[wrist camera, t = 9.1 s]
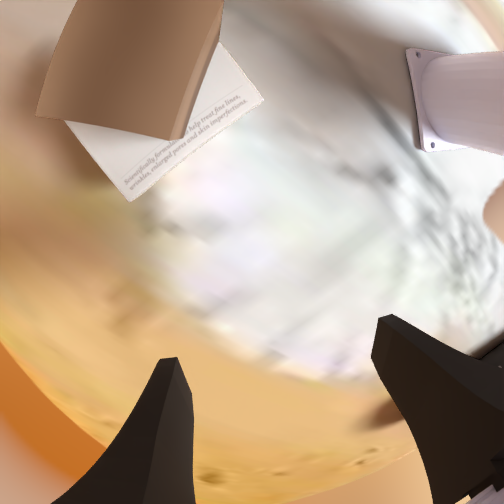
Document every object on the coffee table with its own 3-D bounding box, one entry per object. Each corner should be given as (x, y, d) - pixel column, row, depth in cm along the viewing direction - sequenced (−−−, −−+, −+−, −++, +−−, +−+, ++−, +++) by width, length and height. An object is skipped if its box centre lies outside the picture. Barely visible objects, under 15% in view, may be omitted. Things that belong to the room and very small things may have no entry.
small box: (148, 186, 17) (126, 208, 12) (78, 96, 13) (36, 89, 9) (252, 109, 16) (269, 101, 11) (178, 17, 12) (169, -19, 8)
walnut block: (218, 41, 10) (224, -2, 6) (183, 138, 11) (169, 141, 7) (120, 24, 8) (85, -15, 4) (87, 117, 10) (34, 116, 6)
